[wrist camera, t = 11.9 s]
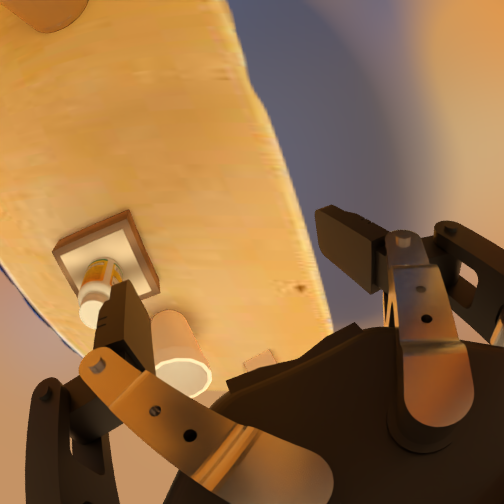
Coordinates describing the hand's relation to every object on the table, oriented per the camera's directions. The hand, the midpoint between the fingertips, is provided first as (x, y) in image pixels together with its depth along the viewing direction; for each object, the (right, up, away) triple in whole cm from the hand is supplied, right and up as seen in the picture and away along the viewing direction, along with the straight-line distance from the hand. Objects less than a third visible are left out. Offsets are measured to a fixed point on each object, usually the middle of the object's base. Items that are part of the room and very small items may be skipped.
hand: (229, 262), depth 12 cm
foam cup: (-13, -12, +36) cm, 41 cm away
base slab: (-20, -1, +28) cm, 35 cm away
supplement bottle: (-19, -2, +24) cm, 31 cm away
